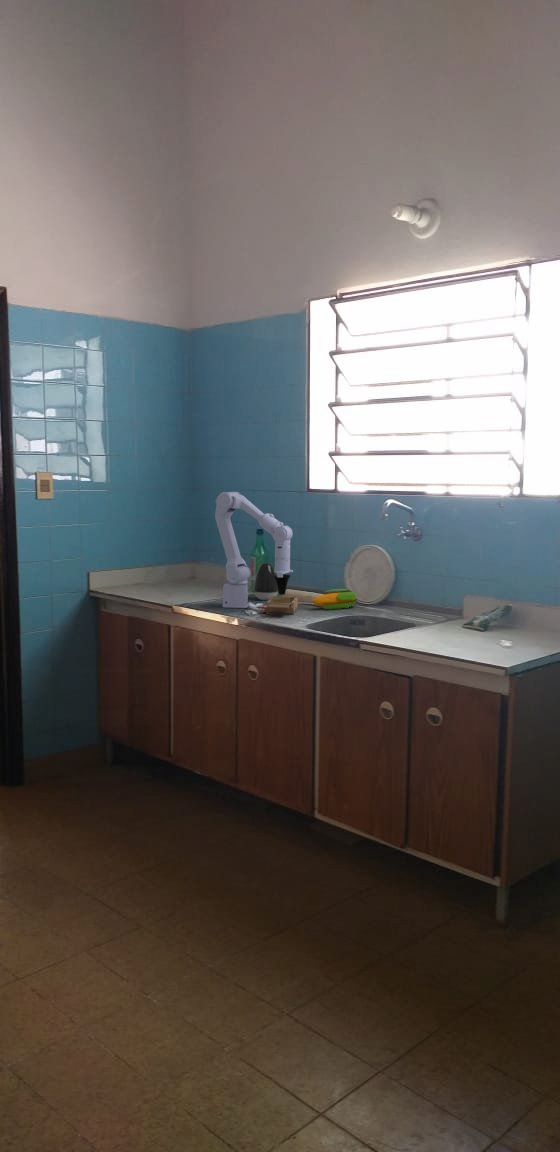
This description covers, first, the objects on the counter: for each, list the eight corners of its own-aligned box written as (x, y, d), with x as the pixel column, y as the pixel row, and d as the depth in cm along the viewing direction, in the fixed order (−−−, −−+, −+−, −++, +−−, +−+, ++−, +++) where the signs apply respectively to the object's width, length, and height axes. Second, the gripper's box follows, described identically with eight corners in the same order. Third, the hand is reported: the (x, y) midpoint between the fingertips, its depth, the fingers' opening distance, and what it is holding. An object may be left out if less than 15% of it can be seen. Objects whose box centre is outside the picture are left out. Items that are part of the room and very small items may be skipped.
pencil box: (293, 614, 334) (293, 603, 333) (266, 614, 335) (266, 602, 335) (297, 608, 350) (298, 597, 349) (271, 607, 351) (271, 596, 350)
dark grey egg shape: (280, 598, 377) (280, 561, 375) (277, 601, 366) (277, 563, 365) (255, 597, 378) (255, 560, 376) (252, 601, 367) (252, 563, 366)
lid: (287, 609, 326) (287, 601, 326) (267, 608, 327) (267, 600, 327) (291, 603, 340) (291, 595, 340) (272, 603, 341) (272, 595, 340)
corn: (361, 588, 350) (317, 591, 340) (362, 608, 351) (318, 611, 341) (350, 587, 357) (306, 590, 347) (351, 606, 357) (307, 610, 347)
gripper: (290, 560, 335) (290, 597, 337) (295, 556, 349) (294, 592, 351) (271, 560, 336) (271, 596, 338) (276, 556, 350) (276, 591, 352)
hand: (282, 594), depth 344 cm, fingers closed
